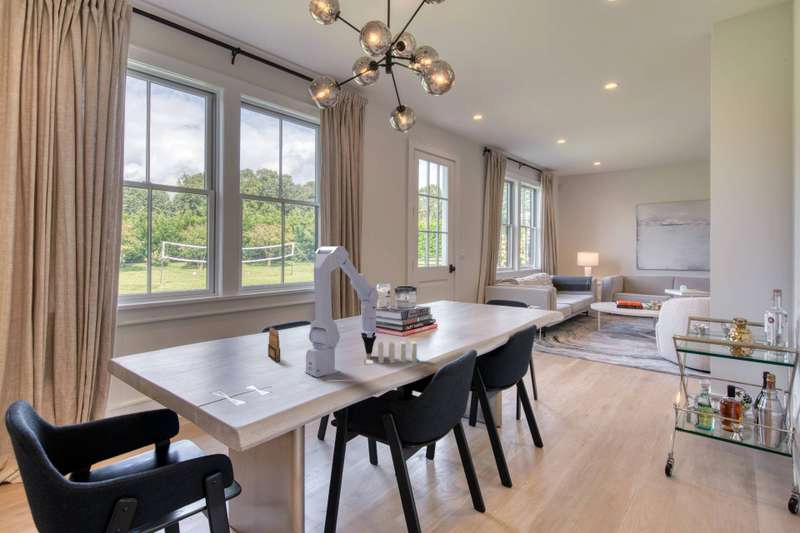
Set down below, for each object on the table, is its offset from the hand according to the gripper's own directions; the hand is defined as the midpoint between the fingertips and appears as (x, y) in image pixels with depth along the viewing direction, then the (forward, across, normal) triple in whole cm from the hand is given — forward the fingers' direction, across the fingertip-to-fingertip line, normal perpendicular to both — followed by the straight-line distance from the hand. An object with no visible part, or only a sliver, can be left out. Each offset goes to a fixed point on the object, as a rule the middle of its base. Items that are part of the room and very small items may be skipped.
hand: (368, 352), depth 161 cm
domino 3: (+2, -7, -13) cm, 15 cm away
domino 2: (+2, -7, -8) cm, 11 cm away
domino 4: (+2, -7, -17) cm, 18 cm away
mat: (+2, -7, -8) cm, 11 cm away
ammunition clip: (+3, +3, +37) cm, 37 cm away
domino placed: (+2, 0, 0) cm, 2 cm away
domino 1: (+2, -7, -4) cm, 8 cm away
